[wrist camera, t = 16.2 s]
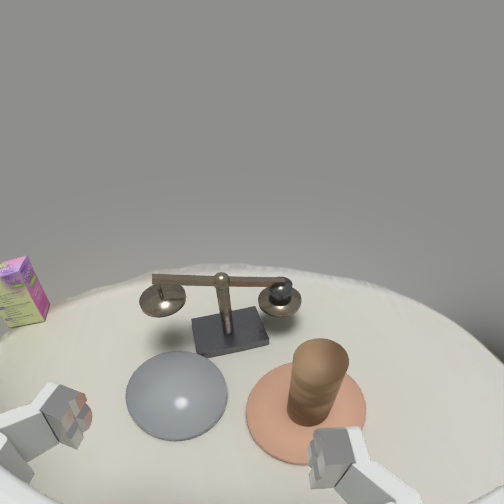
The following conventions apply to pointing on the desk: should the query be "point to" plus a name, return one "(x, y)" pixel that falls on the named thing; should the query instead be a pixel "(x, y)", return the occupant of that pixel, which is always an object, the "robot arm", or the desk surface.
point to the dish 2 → (283, 428)
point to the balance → (223, 309)
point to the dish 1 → (176, 395)
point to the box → (21, 294)
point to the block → (315, 380)
